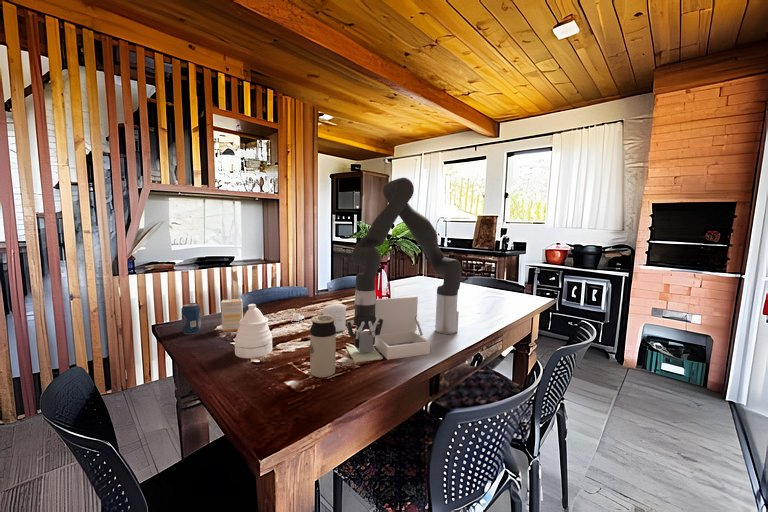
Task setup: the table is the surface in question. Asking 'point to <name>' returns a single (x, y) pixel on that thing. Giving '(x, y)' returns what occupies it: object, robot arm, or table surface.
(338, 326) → the photo printer
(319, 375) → the travel mug
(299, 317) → the teacup and saucer
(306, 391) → the table surface
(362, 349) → the block
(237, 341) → the honey pot
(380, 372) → the table surface
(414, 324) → the case
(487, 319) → the table surface
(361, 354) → the mat
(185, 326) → the soda can
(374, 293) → the robot arm
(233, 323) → the supplement box
